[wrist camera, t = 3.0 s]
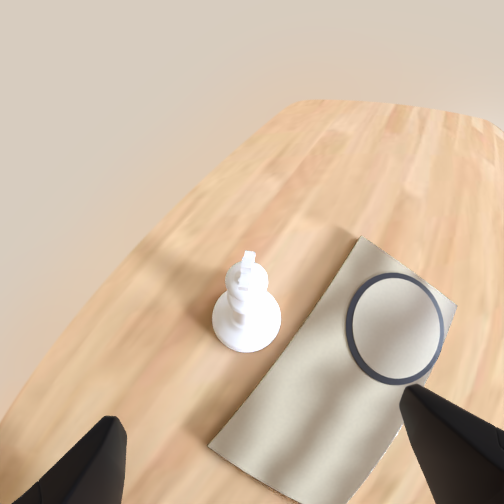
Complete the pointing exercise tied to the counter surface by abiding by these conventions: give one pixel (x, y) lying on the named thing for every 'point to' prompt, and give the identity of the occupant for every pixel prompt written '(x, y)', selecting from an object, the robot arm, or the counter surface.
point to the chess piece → (246, 308)
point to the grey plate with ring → (340, 382)
